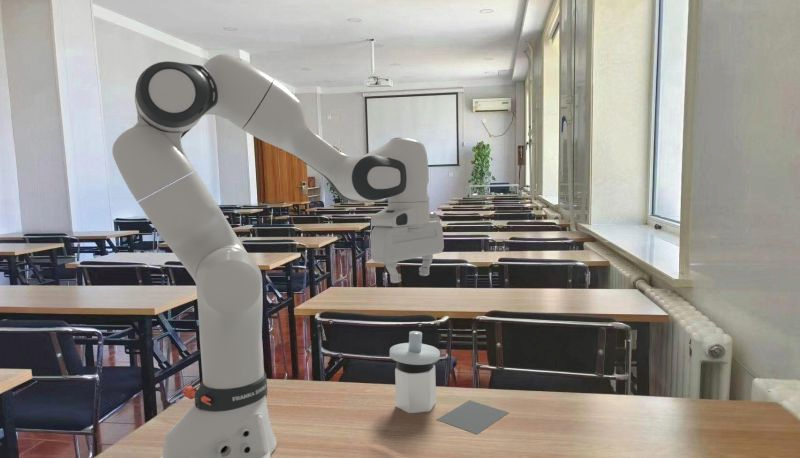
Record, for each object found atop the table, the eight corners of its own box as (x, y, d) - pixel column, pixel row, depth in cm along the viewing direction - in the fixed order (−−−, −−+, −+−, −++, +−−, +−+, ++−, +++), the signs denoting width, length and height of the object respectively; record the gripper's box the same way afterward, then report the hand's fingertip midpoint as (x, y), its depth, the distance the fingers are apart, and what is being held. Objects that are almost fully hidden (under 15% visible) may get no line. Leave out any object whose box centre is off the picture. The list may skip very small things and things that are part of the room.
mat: (476, 438, 103) (476, 434, 103) (436, 423, 109) (436, 419, 109) (508, 416, 112) (508, 412, 111) (469, 403, 118) (469, 400, 118)
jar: (443, 408, 116) (442, 355, 115) (415, 420, 111) (414, 365, 110) (417, 396, 123) (415, 346, 122) (389, 406, 118) (387, 354, 117)
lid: (417, 368, 108) (419, 344, 107) (379, 355, 115) (380, 331, 115) (449, 356, 116) (451, 333, 116) (411, 344, 123) (412, 323, 123)
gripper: (428, 211, 123) (429, 270, 124) (364, 218, 108) (366, 284, 109) (450, 212, 118) (451, 272, 120) (387, 219, 103) (389, 288, 105)
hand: (410, 278), depth 114 cm, fingers open, 8 cm apart
